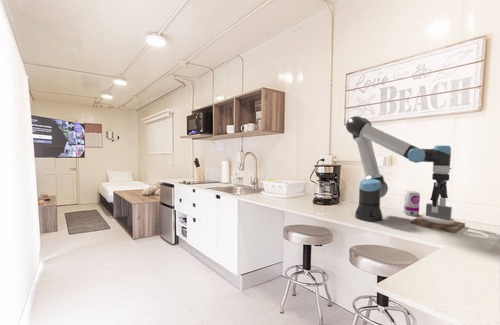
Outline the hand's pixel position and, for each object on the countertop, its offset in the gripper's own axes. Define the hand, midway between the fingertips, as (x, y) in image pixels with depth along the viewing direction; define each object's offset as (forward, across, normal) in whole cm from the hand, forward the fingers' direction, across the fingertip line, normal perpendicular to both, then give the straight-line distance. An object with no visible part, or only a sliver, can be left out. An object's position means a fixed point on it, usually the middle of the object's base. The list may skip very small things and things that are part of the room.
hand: (438, 210), depth 141 cm
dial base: (+8, 0, 0) cm, 8 cm away
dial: (+6, 0, 0) cm, 6 cm away
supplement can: (+8, +14, +18) cm, 24 cm away
